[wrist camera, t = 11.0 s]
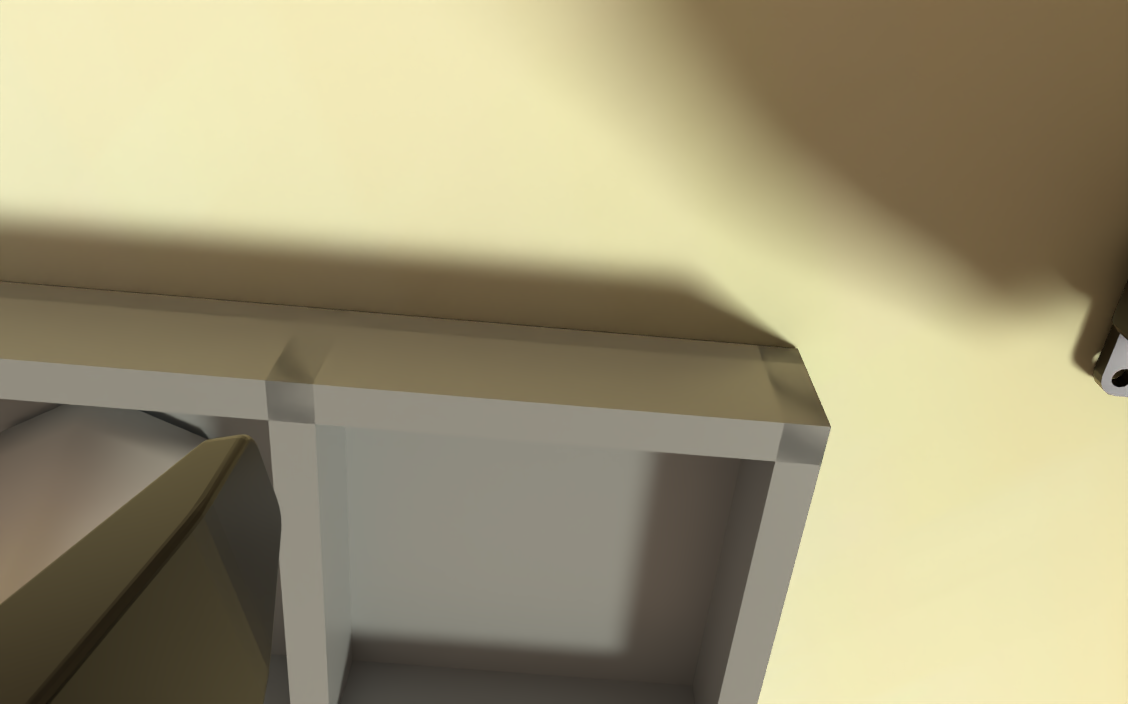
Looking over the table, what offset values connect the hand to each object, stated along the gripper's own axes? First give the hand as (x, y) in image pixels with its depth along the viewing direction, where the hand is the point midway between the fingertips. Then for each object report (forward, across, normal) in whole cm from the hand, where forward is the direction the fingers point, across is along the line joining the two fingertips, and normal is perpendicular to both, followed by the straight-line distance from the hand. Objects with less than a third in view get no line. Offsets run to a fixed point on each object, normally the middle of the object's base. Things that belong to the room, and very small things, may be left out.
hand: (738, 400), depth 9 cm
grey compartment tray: (+13, +8, +11) cm, 19 cm away
